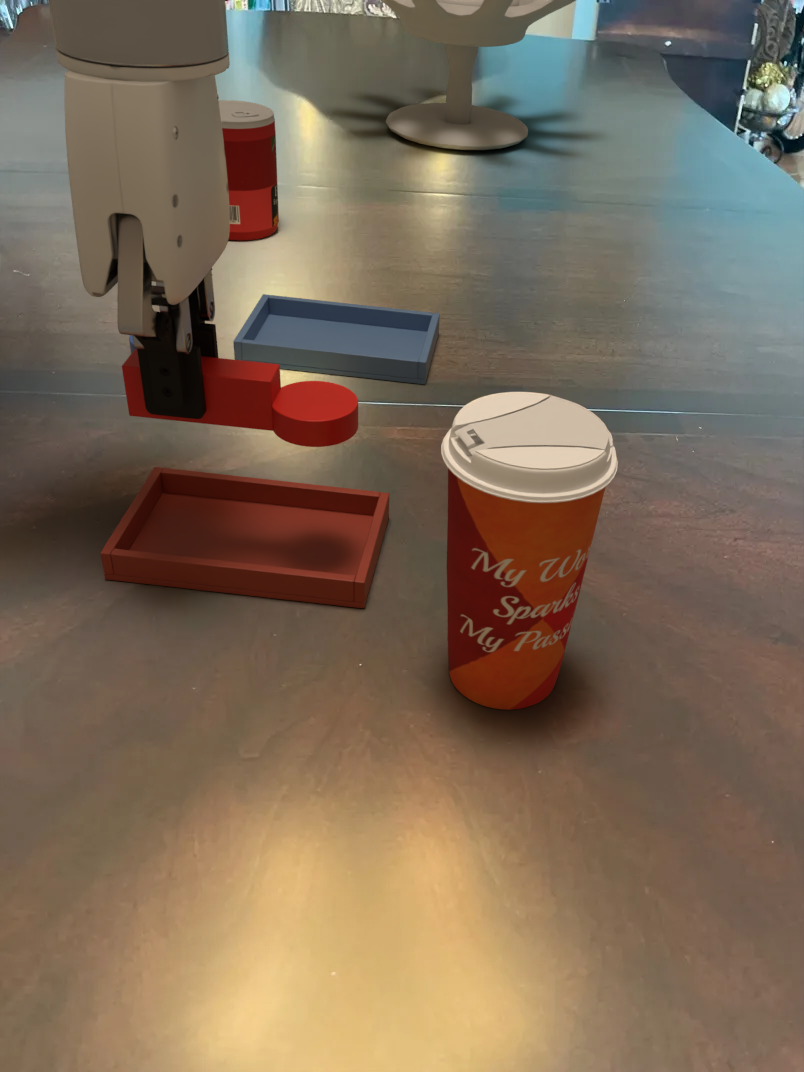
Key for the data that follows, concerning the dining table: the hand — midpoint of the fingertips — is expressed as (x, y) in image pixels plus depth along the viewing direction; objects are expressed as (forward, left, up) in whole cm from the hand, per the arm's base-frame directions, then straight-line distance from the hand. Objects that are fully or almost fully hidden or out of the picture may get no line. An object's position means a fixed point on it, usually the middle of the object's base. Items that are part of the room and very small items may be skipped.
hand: (184, 399), depth 58 cm
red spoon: (+3, 0, -1) cm, 3 cm away
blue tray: (+3, +29, -10) cm, 31 cm away
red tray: (+3, 0, -10) cm, 10 cm away
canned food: (-12, +54, -10) cm, 56 cm away
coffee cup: (+19, -9, -10) cm, 23 cm away
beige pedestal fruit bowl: (+6, +97, -10) cm, 98 cm away
